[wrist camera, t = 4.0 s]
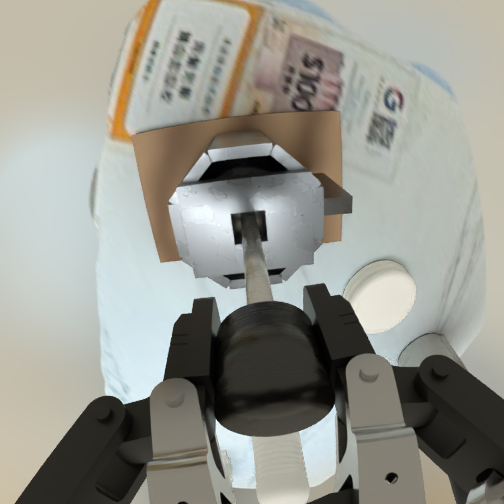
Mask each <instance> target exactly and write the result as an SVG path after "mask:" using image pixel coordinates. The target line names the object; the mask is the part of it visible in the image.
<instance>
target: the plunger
mask: <svg viewBox="0 0 504 504" xmlns="http://www.w3.org/2000/svg"><path fill="white" fill-rule="evenodd" d="M265 172H269V171H268V170H266V169H263V168H260V167H256V166H239V167H235V168H231V169H229V170H227V171H225V172H223V173H222V174H220V175H219V176H218V177H217V178H223V177H230V176H238V175H247V174H256V173H265ZM231 217H232V225H233V232H234V239H242V247H243V260H244V272H245V284H246V296H247V305H246V306H243V307H241V308H239V309H237V310H235V311H234V312H232V313H231V314H229V315H228V316H227V317H226V318H225V319H224V320H223V322H222V323H221V325H220V326H219V328H218V331H217V335H216V359H215V396H214V414H215V417H216V419H217V421H218V422H219V423H220V424H221V425H222V426H223V427H225V428H227V429H228V430H230V431H233V432H235V433H238V434H242V435H247V436H255V437H273V436H281V435H287V434H291V433H295V432H298V431H301V430H303V429H306V428H308V427H310V426H312V425H314V424H316V423H317V422H319V421H320V420H322V419H323V418H324V417H325V416H326V415H327V414H328V413H329V412H330V411H331V410H332V408H333V406H334V404H335V399H336V397H335V392H334V389H333V386H332V383H331V379H330V376H329V373H328V370H327V367H326V364H325V360H324V357H323V354H322V351H321V348H320V345H319V342H318V339H317V336H316V333H315V330H314V327H313V324H312V322H311V319H310V318H309V317H308V315H307V314H306V313H305V312H304V311H302V310H301V309H299V308H298V307H296V306H294V305H291V304H288V303H284V302H278V301H273V296H272V291H271V286H270V281H269V276H268V272H267V267H266V262H265V257H264V252H263V247H262V243H261V238H260V236H267V235H266V224H265V213H264V210H260V211H251V212H243V213H235V214H231Z"/></svg>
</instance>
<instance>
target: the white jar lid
mask: <svg viewBox="0 0 504 504" xmlns="http://www.w3.org/2000/svg"><path fill="white" fill-rule="evenodd" d="M416 294H417V289H416V284H415V282H414V280H413V278H412V277H411V276H410V275H409V273H408V272H407V271H406V270H405V269H404V268H403V267H402V266H401V265H400V264H398V263H396V262H393V261H388V260H383V261H377V262H374V263H371V264H369V265H367V266H365V267H364V268H362V269H361V270H360V271H358V272H357V273H356V274H355V275H354V276H353V277H352V278H351V280H350V281H349V283H348V284H347V286H346V288H345V290H344V294H343V298H345V299H346V300H347V301H349V302H350V304H351V306H352V308H353V310H354V311H355V315H357V317H358V319H359V323H361V325H362V327H363V329H364V331H365V333H367V334H375V333H380V332H384V331H386V330H389V329H391V328H392V327H394V326H396V325H397V324H398V323H400V322H401V321H402V320H403V319H404V318H405V317H406V316H407V314H408V313H409V312H410V310H411V308H412V306H413V305H414V302H415V299H416Z"/></svg>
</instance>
